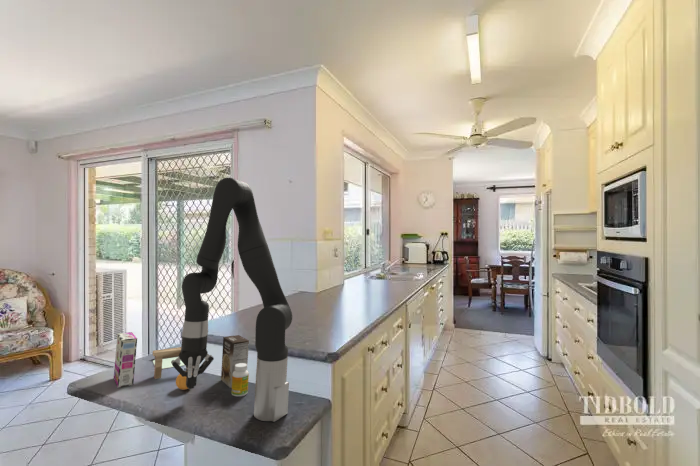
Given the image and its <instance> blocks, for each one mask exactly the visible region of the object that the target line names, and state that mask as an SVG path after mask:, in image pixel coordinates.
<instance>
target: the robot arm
mask: <svg viewBox="0 0 700 466" xmlns="http://www.w3.org/2000/svg"><path fill="white" fill-rule="evenodd" d="M254 196H255V195H254V193H253V190H252V188H251V187H250V186H249V184H248V183H247V182H245V181H243V180H240V179H236V178H233V177H224V178H221V179H220V180H219V181H218V182H217V183H216V185H215V189H214V192H213V196H212V202H211V205H210V206H211V207H210V212H209V215H208V216H209V217H208V222H207V227H206V230H205V234H204V238H203V240H202V241H201V246H200V248H199V251H198V254H197V256H196V261H195V262H196V264H197V265H198V266H200V267H201V271H200V272H190V273H188V274H186V275H185V277H183V280H182V282H181V292H182V295H183V296H182V298H183V302H184V306H185V311H184V320H183V321H184V322H183V325H182V335H181V345H180V347H181V352H180V354H179V357H178V358H177V359H175V360H172V361H171V363H172V365H173V367H172V368H174V369H175V370H176V371H177V372H178V374H180V375H181V376H182V377H186V386H187V388H188V389H187V390H193V389H195V387H196V386H197V380H198V379H197V378H198V376H199V375H201V374H202V375H203V373H204V372H206V370H207V368H208V367H209V366H210V365H211V364H212V362H213V361H214V359H215V358H214V356H213V355H212V354H209V353H208V350H207V347H208V346H207V345H208V334H209V315H210V314H209V312H210V310H209V309H210V305H209V303H208V302H207V301H205V300H202V297H201V295H202V294H207V293H210V292H211V291H213V290H214V289H215V287H216V285H217V283H218V276H219V265H220V261H221V259H222V257H223V254H224V251H225V248H226V244H227V225H228V224H227V223H228V220H229V216H230V215H231V212H232V210H233V212H234V215H235V219H236V222H237V225H238V234H237V235H238V236H237V237H238V238H237V252H238V255H239V259H240V261H241V264H242V267H243V269H244V272H245V273H246V275H247V277H248V278H249V279H250V280H251V282H252V283H253V285H254V286H255V288H256V289H257V291H258V293H259V295H260V298H261V301H262V305H263V308H262V309H260V310H259V311H258V314H257V315H256V319H255V337H254V338H255V341H254V342H255V343H254V344H255V350H256V369H255V371H256V373H255V387H254V407H253V416H254V418H255V419H256V420H259V421H262V422H274V423H275V422H277V421H278V420H280V419H281V418H283V417H285V416H286V415H287V414H288V412H289V411H288V408H289V393H290V392H289V389H290V387H289V386H290V382H289V381H287V380H288V379H287V377H288V359H289V358H288V357H289V356H288V355H289V349H288V345H286V330H287V329H289V327H290V326H291V324H292V321H293V312H292V309H291V306H290V304H289V303H288V300H287V298H286V296H285V294H284V291H283V289H282V287H281V284H280V281H279V280H280V279H279V276H278V273H277V270H276V267H275V264H274V262H273V257H272V254H271V251H270V248H269V246H268V242H267V240H266V237H265V233H264V230H263V227H262V225H261V222H260V219H259V216H258V212H257V210H258V209H257V207H256V206H257V205H256V201H255V197H254ZM180 360H181V361H182V362H183V363H184V365H185V369H186V370H184V369H183V368H182V366H179V365H180V364H181V363H180ZM192 366H193V368H192Z"/></svg>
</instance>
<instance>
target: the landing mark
mask: <svg viewBox="0 0 700 466" xmlns="http://www.w3.org/2000/svg"><path fill="white" fill-rule="evenodd" d="M177 358H178V357H172V358H165V359H162V370H165V369H171V368H174V367H173V365H172V363H171V361H172V360H175V359H177ZM152 363H153V366H154V367H155V359H154V360H152ZM180 363H181V364H180V365H179V366H180V367H184V363H183V362H182V361H181V360H180Z"/></svg>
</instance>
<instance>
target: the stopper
mask: <svg viewBox="0 0 700 466" xmlns="http://www.w3.org/2000/svg"><path fill="white" fill-rule="evenodd" d="M179 354H180V353H173V354H166V355H163V358H162V359H167V358H174V357H179ZM154 360H155V357H154Z"/></svg>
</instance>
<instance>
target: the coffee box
mask: <svg viewBox="0 0 700 466" xmlns="http://www.w3.org/2000/svg"><path fill="white" fill-rule="evenodd" d="M249 341H250V339H249V340H248V339H247V338H245V337H243V336H241V335H239V334H238V335H227V336H223V339H222V355H221V357H222V358H221V370H220V371H221V373H220V380H221V381H222V383H224V384H225V385H226V386H227V387H228V388H230V389H232V375H233V372H234V371H235V365H236V364H238V363H246V364H247V365H248V361H249V359H248V358H249V348H248V344H249V345H250V342H249ZM246 370H248V368H247V369H246Z"/></svg>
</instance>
